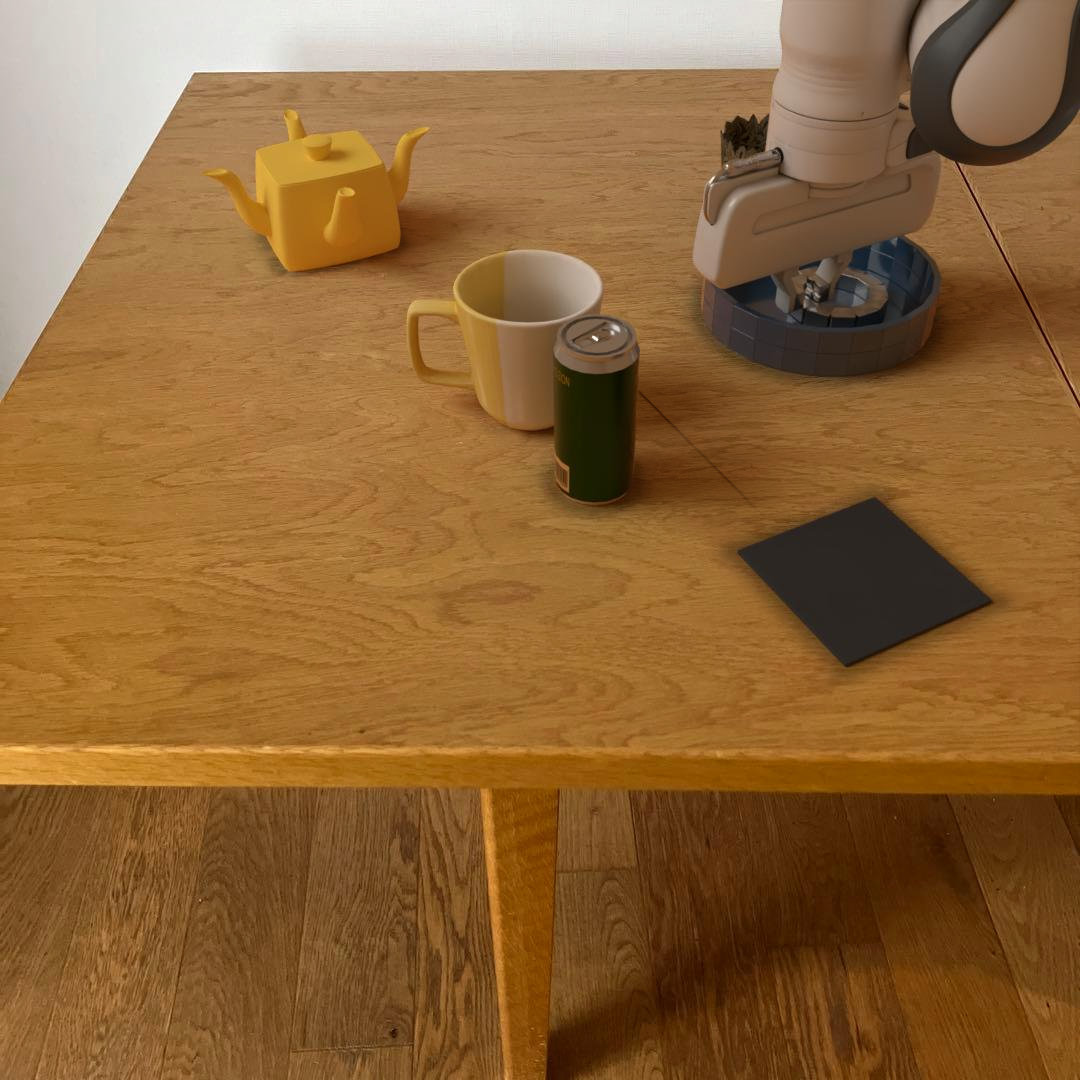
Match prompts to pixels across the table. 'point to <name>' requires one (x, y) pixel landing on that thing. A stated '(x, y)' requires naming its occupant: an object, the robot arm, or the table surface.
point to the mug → (510, 329)
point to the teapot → (324, 196)
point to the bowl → (791, 346)
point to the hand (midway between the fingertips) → (803, 303)
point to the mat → (862, 580)
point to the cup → (743, 138)
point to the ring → (844, 317)
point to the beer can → (595, 408)
